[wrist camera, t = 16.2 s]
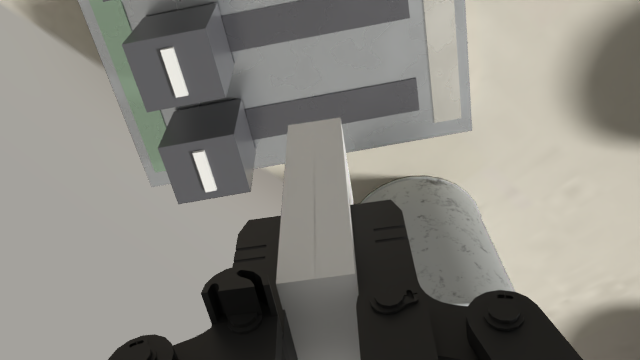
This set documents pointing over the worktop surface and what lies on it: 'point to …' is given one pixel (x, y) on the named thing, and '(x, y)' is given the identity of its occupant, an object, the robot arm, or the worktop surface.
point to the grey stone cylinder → (446, 239)
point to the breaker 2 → (208, 152)
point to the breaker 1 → (180, 58)
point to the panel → (311, 69)
